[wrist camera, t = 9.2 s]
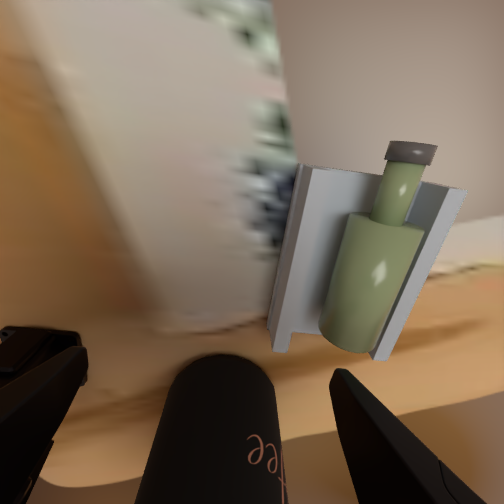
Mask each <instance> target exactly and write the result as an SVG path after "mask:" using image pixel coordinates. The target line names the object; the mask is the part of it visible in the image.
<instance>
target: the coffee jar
mask: <svg viewBox="0 0 504 504" xmlns="http://www.w3.org/2000/svg"><path fill="white" fill-rule="evenodd" d="M134 504H288V496H287V488H286V479H285V470H284V462H283V455H282V445H281V437H280V429H279V420H278V412H277V404H276V396H275V390H274V386H273V384H272V383H271V381H270V380H269V378H268V377H267V375H266V374H265V373H264V372H263V371H262V370H261V369H260V368H259V367H258V366H256V365H255V364H254V363H252V362H251V361H249V360H246V359H243V358H240V357H238V356H231V355H215V356H208V357H205V358H202V359H200V360H197V361H195V362H193V363H192V364H191V365H189V366H188V367H187V368H186V369H184V370H183V371H182V372H181V373H180V374H178V376H177V377H176V378H175V380H174V382H173V383H172V385H171V387H170V389H169V392H168V395H167V399H166V402H165V405H164V409H163V412H162V415H161V418H160V422H159V425H158V428H157V431H156V435H155V438H154V441H153V444H152V448H151V451H150V454H149V457H148V461H147V464H146V467H145V470H144V474H143V477H142V480H141V484H140V487H139V490H138V493H137V497H136V500H135V503H134Z"/></svg>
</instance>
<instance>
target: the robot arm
mask: <svg viewBox="0 0 504 504" xmlns="http://www.w3.org/2000/svg"><path fill="white" fill-rule="evenodd" d="M0 338H1V341H2V343H1V344H0V504H26V502H27V500H28V498H29V496H30V494H31V491H32V489H33V487H34V485H35V483H36V481H37V478H38V476H39V474H40V472H41V470H42V467H43V465H44V463H45V461H46V459H47V456H48V454H49V452H50V450H51V448H52V446H53V443H54V441H53V440H52V438H53V436H54V434H55V433H56V431H57V429H58V428H59V426H60V424H61V423H62V421H63V419H64V417H65V415H66V413H67V411H68V409H69V407H70V405H71V403H72V401H73V399H74V397H75V395H76V393H77V391H78V389H79V387H80V386H83V385H84V384H85V383H86V382H87V376H86V372H87V370H88V356H87V349H86V348H85V347H82V346H81V343H80V338H79V335H78V334H77V333H74V332H65V331H54V330H42V329H30V328H18V327H4V328H2V329H1V330H0ZM329 390H330V396H331V401H332V406H333V411H334V416H335V421H336V426H337V430H338V434H339V438H340V442H341V445H342V448H343V451H344V455H345V458H346V462H347V465H348V468H349V472H350V475H351V478H352V482H353V485H354V488H355V492H356V495H357V499H358V502H359V504H487V503H486V502H484V500H482V499H481V498H480V497H479V496H478V495H477V494H476V493H474V492H473V491H472V490H471V489H470V488H469V487H468V486H467V485H466V484H465V483H464V482H463V481H462V480H461V479H460V478H459V477H458V476H457V475H455V474H454V473H453V472H452V471H451V470H450V469H449V468H448V467H447V466H446V465H445V464H444V463H443V462H442V461H441V460H438V457H437V456H436V455H435V454H434V453H433V452H432V451H431V450H430V449H429V448H427V447H426V446H425V445H424V444H423V443H422V442H421V441H420V440H419V439H418V438H417V437H416V436H415V435H414V434H413V433H412V432H411V431H410V430H409V429H408V428H407V427H406V426H405V425H404V424H403V423H402V422H401V421H400V420H399V419H398V418H397V417H396V416H395V415H394V414H393V413H392V412H390V411H389V410H388V409H387V408H386V407H385V406H384V405H383V404H382V403H381V402H380V401H379V400H378V399H377V398H376V397H375V396H374V395H373V394H372V393H371V392H370V391H369V390H368V389H367V388H366V387H365V386H364V385H363V384H362V383H361V382H360V381H359V380H358V379H357V378H356V377H354V376H353V375H352V374H351V373H350V372H349V371H348V370H347V369H341V368H336V369H335V371H334V373H333V376H332V378H331V381H330V384H329Z"/></svg>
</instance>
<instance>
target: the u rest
mask: <svg viewBox="0 0 504 504" xmlns="http://www.w3.org/2000/svg"><path fill="white" fill-rule="evenodd" d="M381 179H382V175H375V174H368V173H362V172H354V171H348V170H340V169H334V168H327V167H319V166H313V165H306V164H299V163H298V168H297V173H296V178H295V183H294V188H293V193H292V198H291V203H290V208H289V213H288V218H287V223H286V228H285V233H284V238H283V243H282V248H281V253H280V258H279V263H278V268H277V273H276V278H275V284H274V289H273V294H272V299H271V304H270V309H269V314H268V319H267V330H269V331H270V338H271V346H272V352H281V353H287V351H288V347H289V343H290V339H291V335H292V332H297V333H308V334H319V335H322V333H321V332H320V330H319V327H318V321H319V317H320V314H321V310H322V307H323V304H324V300H325V297H326V293H327V290H328V287H329V283H330V280H331V276H332V273H333V269H334V266H335V263H336V259H337V256H338V252H339V249H340V246H341V242H342V239H343V235H344V232H345V228H346V225H347V222H348V218H349V215H350V213H352V212H369V213H371V210H372V206H373V203H374V200H375V197H376V194H377V191H378V188H379V185H380V182H381ZM467 192H468V190H463V189H458V188H454V187H449V186H445V185H441V184H436V183H431V182H424V181H420V182H419V185H418V187H417V190H416V192H415V195H414V197H413V200H412V203H411V205H410V208H409V210H408V213H407V215H406V218H405V221H408V222H411V223H413V224H416V225H418V226H420V227H421V228H423V229H424V230H425V232H424V234H423V237H422V239H421V241H420V244H419V246H418V248H417V251H416V253H415V255H414V258H413V260H412V262H411V265H410V267H409V269H408V272H407V274H406V276H405V279H404V281H403V283H402V285H401V288H400V290H399V292H398V295H397V297H396V299H395V302H394V304H393V306H392V309H391V311H390V313H389V316H388V318H387V320H386V323H385V325H384V327H383V330H382V332H381V334H380V337H379V339H378V341H377V344H376V346H375V348H374V349H373V350H371V351H370V352H368V353H369V354H370V356H371V358H372V359H373V360H378V361H387V360H388V358H389V356H390V353H391V351H392V349H393V347H394V345H395V343H396V341H397V339H398V337H399V335H400V332H401V330H402V328H403V326H404V324H405V322H406V320H407V318H408V316H409V314H410V312H411V309H412V307H413V305H414V303H415V301H416V299H417V297H418V295H419V293H420V291H421V289H422V286H423V284H424V282H425V280H426V278H427V276H428V274H429V272H430V270H431V268H432V266H433V263H434V261H435V259H436V257H437V255H438V253H439V251H440V249H441V247H442V245H443V243H444V240H445V238H446V236H447V234H448V232H449V230H450V228H451V226H452V224H453V222H454V219H455V217H456V215H457V213H458V211H459V209H460V207H461V205H462V202H463V200H464V198H465V196H466V194H467Z"/></svg>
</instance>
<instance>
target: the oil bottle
mask: <svg viewBox="0 0 504 504" xmlns="http://www.w3.org/2000/svg"><path fill="white" fill-rule="evenodd" d="M436 149H437V146H436V145H430V144H424V143H416V142H404V141H390V143H389V146H388V149H387V152H386V155H385V158H384V159H385V160H388V161H387V164H386V167H385V170H384V174H383V176H382V179H381V182H380V185H379V188H378V191H377V194H376V197H375V200H374V203H373V206H372V210H371V213H369V212H352V213H350V215H349V218H348V222H347V225H346V228H345V232H344V235H343V239H342V242H341V246H340V249H339V252H338V256H337V259H336V263H335V266H334V269H333V273H332V276H331V280H330V283H329V287H328V290H327V293H326V297H325V300H324V304H323V307H322V310H321V314H320V317H319V321H318V327H319V330H320V332H321V333H322V335H323V336H324V337H325V338H326V339H327V340H328V341H329V342H331V343H332V344H334V345H335V346H337V347H339V348H341V349H343V350H346V351H350V352H354V353H366V352H370V351H371V350H373V349H374V348H375V346H376V344H377V341H378V339H379V337H380V334H381V332H382V330H383V327H384V325H385V323H386V320H387V318H388V316H389V313H390V311H391V309H392V306H393V304H394V302H395V299H396V297H397V295H398V292H399V290H400V288H401V285H402V283H403V281H404V279H405V276H406V274H407V272H408V269H409V267H410V265H411V262H412V260H413V258H414V255H415V253H416V251H417V248H418V246H419V244H420V241H421V239H422V237H423V234H424V232H425V230H424V229H423V228H421V227H420V226H418V225H416V224H413V223H411V222H408V221H405V218H406V215H407V213H408V210H409V208H410V205H411V203H412V200H413V197H414V195H415V192H416V190H417V187H418V185H419V182H420V179H421V177H422V174H423V172H424V169H425V166H426V165H429V166H430V165H431V162H432V159H433V157H434V155H435V152H436Z"/></svg>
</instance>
